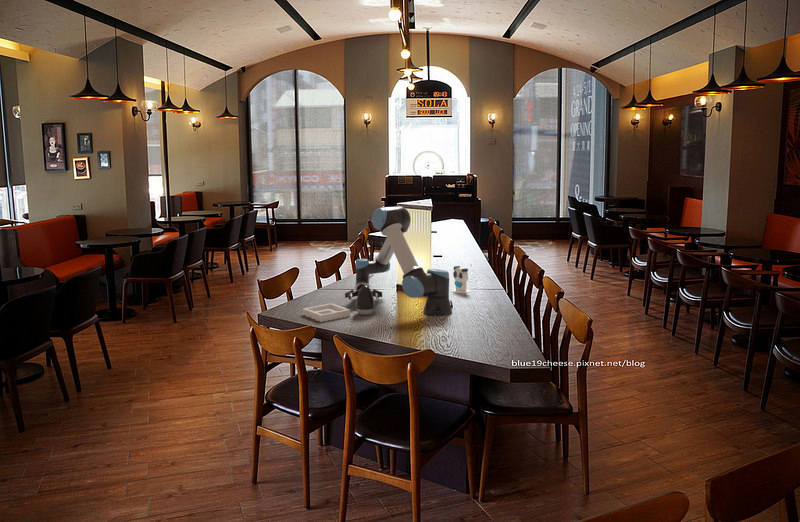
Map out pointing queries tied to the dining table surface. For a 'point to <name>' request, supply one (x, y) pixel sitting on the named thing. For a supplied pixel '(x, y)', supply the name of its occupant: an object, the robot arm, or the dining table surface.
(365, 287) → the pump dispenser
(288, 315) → the dining table surface
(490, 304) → the dining table surface
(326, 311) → the tray
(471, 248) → the dining table surface
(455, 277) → the panda figurine
